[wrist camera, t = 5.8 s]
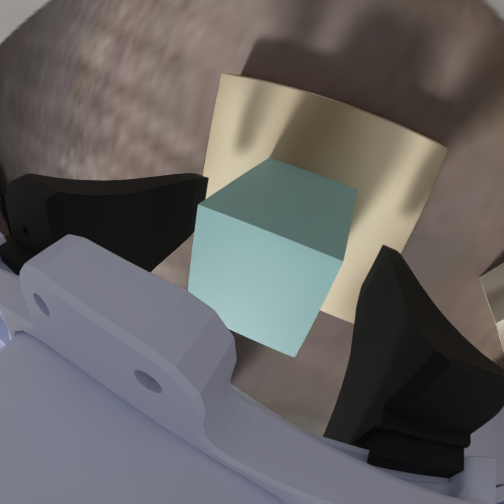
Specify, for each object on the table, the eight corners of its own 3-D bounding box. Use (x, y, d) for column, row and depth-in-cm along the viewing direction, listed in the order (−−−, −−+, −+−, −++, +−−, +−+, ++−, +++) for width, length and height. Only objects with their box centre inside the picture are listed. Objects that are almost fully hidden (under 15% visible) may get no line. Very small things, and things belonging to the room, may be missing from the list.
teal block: (357, 189, 12) (343, 261, 7) (326, 264, 14) (294, 357, 9) (269, 157, 13) (197, 204, 8) (250, 233, 15) (186, 308, 10)
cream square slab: (437, 142, 11) (447, 149, 10) (361, 302, 17) (358, 325, 15) (239, 75, 13) (221, 73, 11) (208, 240, 19) (192, 255, 17)
